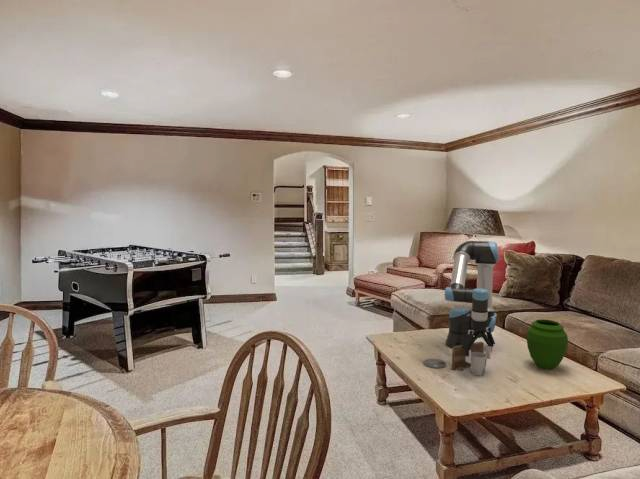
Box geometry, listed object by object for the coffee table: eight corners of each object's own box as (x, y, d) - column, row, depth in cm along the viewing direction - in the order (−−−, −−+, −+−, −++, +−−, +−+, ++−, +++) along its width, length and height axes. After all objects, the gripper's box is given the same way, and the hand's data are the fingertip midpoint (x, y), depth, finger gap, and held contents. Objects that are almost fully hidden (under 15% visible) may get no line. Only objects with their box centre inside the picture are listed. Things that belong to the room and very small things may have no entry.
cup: (487, 377, 203) (488, 358, 202) (470, 376, 205) (471, 357, 204) (484, 370, 211) (485, 352, 210) (468, 369, 212) (468, 351, 212)
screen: (449, 367, 215) (449, 345, 214) (477, 361, 224) (478, 340, 222) (457, 371, 210) (457, 349, 209) (485, 365, 218) (486, 343, 217)
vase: (566, 377, 202) (569, 330, 200) (523, 369, 212) (525, 324, 210) (567, 364, 219) (569, 320, 217) (526, 357, 229) (528, 315, 227)
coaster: (418, 361, 223) (418, 360, 223) (435, 358, 228) (435, 357, 228) (433, 370, 212) (433, 368, 212) (450, 366, 217) (450, 365, 217)
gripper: (466, 324, 197) (464, 366, 198) (503, 318, 207) (501, 359, 208) (455, 320, 203) (454, 361, 205) (491, 315, 214) (490, 354, 215)
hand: (478, 360), depth 207 cm, fingers open, 13 cm apart
